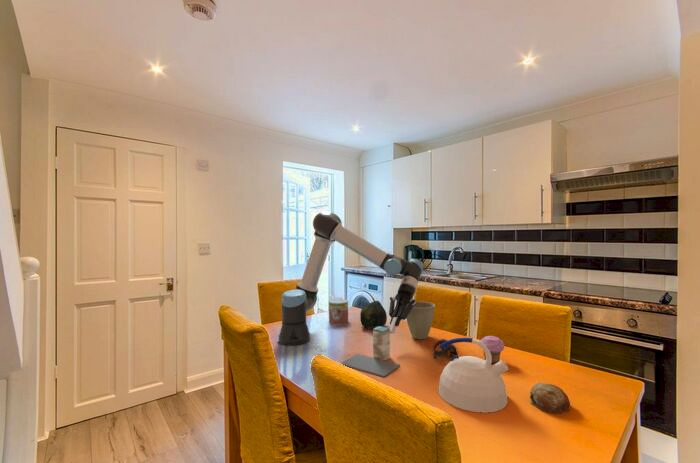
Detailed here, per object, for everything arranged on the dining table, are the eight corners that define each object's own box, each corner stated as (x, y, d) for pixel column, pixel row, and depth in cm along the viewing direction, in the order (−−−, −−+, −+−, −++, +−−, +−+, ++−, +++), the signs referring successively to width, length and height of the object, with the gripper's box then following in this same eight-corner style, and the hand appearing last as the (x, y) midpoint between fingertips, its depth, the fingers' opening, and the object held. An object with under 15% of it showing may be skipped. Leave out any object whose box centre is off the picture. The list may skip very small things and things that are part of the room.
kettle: (504, 421, 87) (503, 355, 87) (429, 401, 98) (428, 342, 98) (512, 390, 104) (511, 334, 104) (447, 375, 115) (447, 325, 115)
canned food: (326, 324, 182) (326, 303, 182) (331, 318, 193) (331, 298, 193) (346, 324, 180) (346, 303, 180) (349, 319, 191) (349, 299, 191)
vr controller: (463, 363, 126) (454, 347, 124) (441, 372, 128) (432, 356, 126) (455, 345, 138) (447, 330, 136) (435, 354, 139) (426, 339, 138)
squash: (350, 316, 177) (364, 298, 170) (368, 312, 188) (381, 295, 181) (365, 337, 169) (380, 319, 163) (382, 332, 180) (397, 315, 174)
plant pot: (441, 337, 155) (441, 305, 155) (420, 344, 147) (419, 309, 147) (419, 330, 168) (418, 299, 168) (398, 335, 159) (397, 303, 159)
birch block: (373, 358, 131) (372, 329, 132) (379, 354, 136) (379, 326, 136) (383, 361, 129) (383, 331, 129) (390, 357, 133) (389, 328, 133)
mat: (340, 364, 126) (340, 363, 126) (357, 354, 136) (357, 353, 136) (384, 377, 114) (384, 376, 114) (400, 365, 124) (400, 364, 124)
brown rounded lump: (528, 408, 99) (517, 385, 99) (556, 392, 100) (545, 370, 100) (551, 427, 90) (539, 402, 89) (582, 410, 90) (570, 385, 90)
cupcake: (480, 364, 124) (479, 338, 124) (479, 356, 132) (479, 331, 132) (505, 367, 121) (505, 340, 121) (503, 358, 129) (502, 334, 129)
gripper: (392, 281, 154) (375, 324, 140) (418, 283, 146) (402, 329, 133) (398, 291, 158) (381, 333, 145) (422, 293, 151) (407, 339, 137)
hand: (391, 331), depth 139 cm, fingers closed
